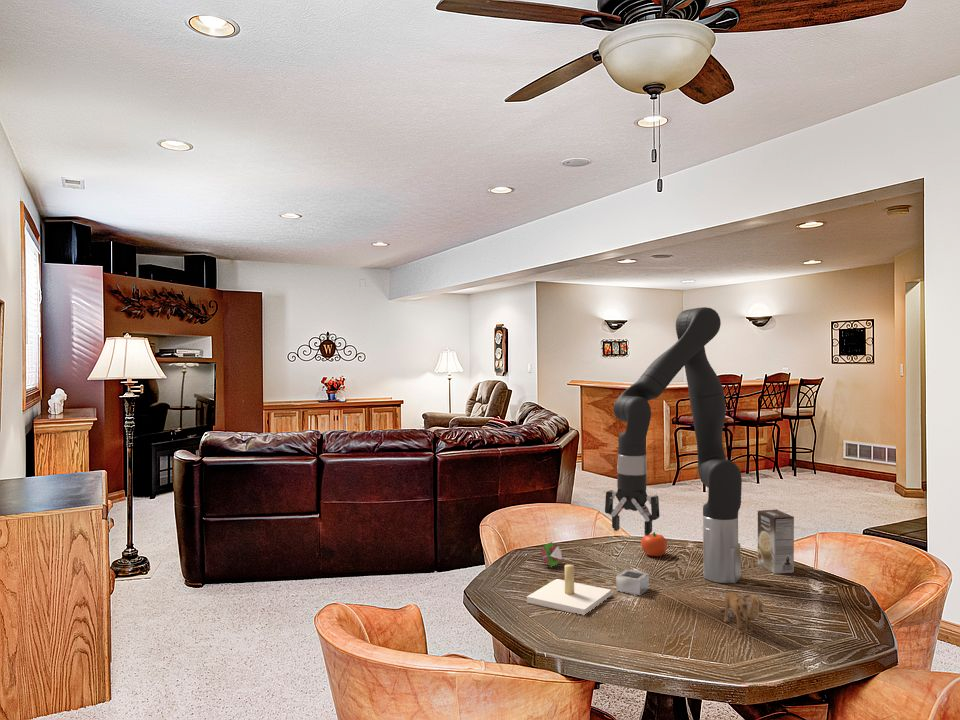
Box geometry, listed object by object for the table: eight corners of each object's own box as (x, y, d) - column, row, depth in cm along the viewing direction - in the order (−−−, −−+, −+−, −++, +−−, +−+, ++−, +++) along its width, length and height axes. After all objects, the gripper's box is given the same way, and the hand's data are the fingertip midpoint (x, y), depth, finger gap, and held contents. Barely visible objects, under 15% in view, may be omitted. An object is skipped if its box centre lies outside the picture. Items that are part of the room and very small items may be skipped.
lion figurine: (769, 637, 149) (769, 597, 149) (748, 640, 148) (747, 599, 148) (729, 613, 163) (729, 575, 163) (709, 615, 162) (709, 577, 162)
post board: (611, 595, 176) (611, 562, 176) (584, 615, 162) (584, 580, 162) (556, 584, 185) (556, 553, 185) (526, 602, 171) (526, 568, 171)
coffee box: (756, 564, 200) (756, 509, 200) (776, 563, 201) (776, 508, 201) (774, 574, 191) (774, 517, 191) (795, 572, 192) (795, 516, 192)
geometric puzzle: (530, 557, 202) (542, 538, 199) (544, 552, 207) (556, 533, 204) (545, 575, 199) (558, 557, 195) (559, 570, 204) (572, 551, 200)
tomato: (666, 559, 206) (666, 535, 206) (639, 557, 208) (639, 533, 208) (668, 552, 213) (667, 529, 213) (642, 550, 215) (641, 527, 215)
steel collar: (648, 588, 181) (648, 573, 181) (639, 595, 175) (639, 580, 175) (625, 584, 184) (625, 569, 184) (616, 591, 179) (616, 576, 179)
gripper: (662, 472, 179) (662, 533, 179) (612, 467, 187) (612, 525, 187) (652, 476, 172) (652, 540, 173) (600, 470, 180) (600, 531, 181)
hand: (631, 532), depth 180 cm, fingers open, 8 cm apart
